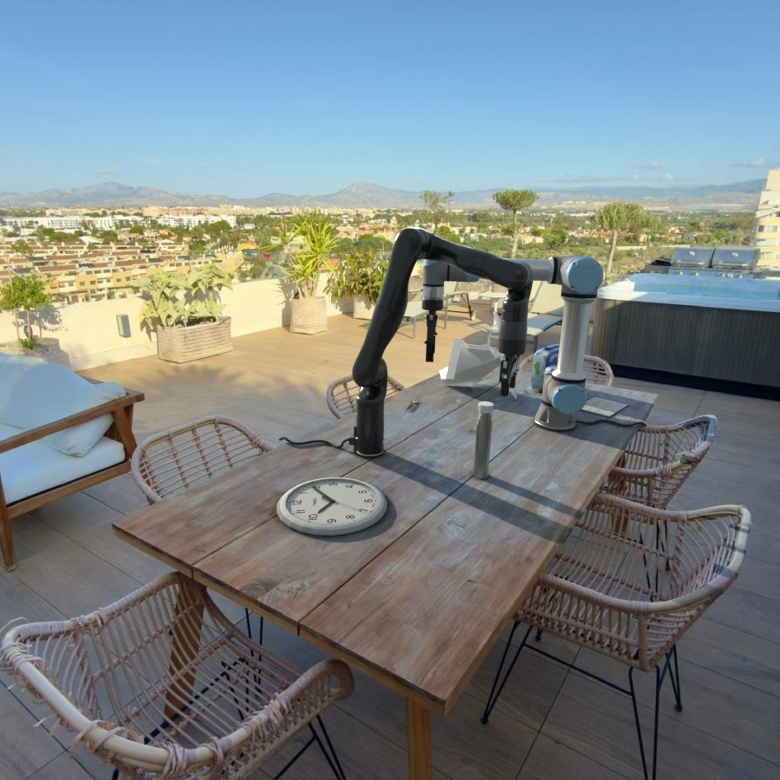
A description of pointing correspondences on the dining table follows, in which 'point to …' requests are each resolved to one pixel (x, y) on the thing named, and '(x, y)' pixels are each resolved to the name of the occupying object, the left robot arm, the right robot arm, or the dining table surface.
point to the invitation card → (603, 406)
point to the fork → (413, 402)
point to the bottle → (482, 445)
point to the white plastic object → (475, 363)
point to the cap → (485, 407)
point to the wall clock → (331, 506)
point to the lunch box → (543, 364)
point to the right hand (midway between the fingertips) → (430, 357)
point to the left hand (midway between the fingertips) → (507, 391)
